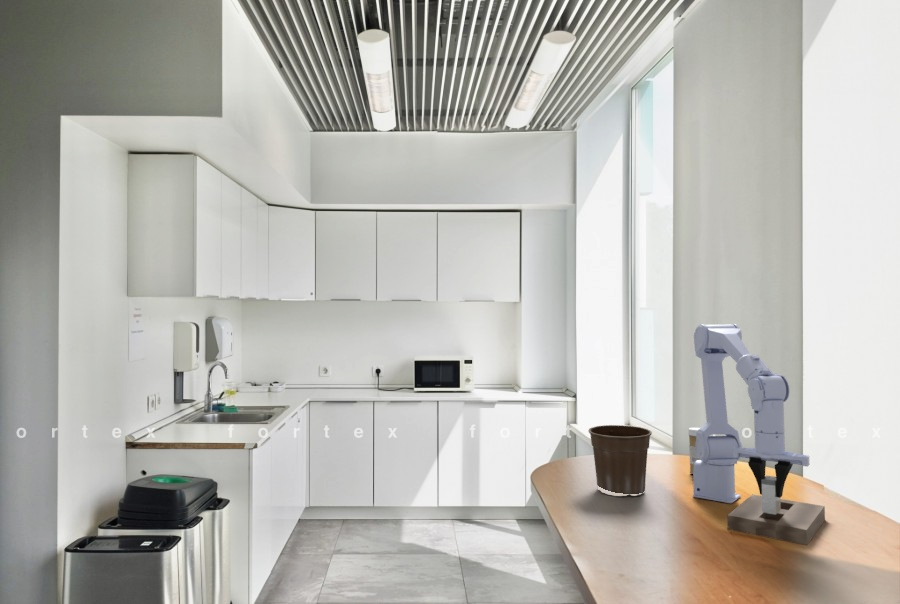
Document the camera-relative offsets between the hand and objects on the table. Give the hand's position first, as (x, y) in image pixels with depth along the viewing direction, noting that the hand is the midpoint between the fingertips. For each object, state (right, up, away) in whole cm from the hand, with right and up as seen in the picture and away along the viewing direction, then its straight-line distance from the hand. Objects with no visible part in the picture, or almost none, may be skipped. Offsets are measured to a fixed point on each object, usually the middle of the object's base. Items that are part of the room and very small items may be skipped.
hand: (771, 495), depth 130 cm
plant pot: (-24, -9, +30) cm, 40 cm away
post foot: (+3, -8, +3) cm, 9 cm away
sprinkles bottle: (+3, -9, +47) cm, 48 cm away
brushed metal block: (0, -3, 0) cm, 3 cm away
